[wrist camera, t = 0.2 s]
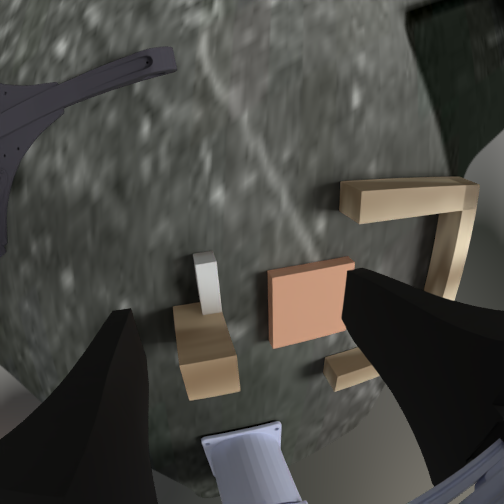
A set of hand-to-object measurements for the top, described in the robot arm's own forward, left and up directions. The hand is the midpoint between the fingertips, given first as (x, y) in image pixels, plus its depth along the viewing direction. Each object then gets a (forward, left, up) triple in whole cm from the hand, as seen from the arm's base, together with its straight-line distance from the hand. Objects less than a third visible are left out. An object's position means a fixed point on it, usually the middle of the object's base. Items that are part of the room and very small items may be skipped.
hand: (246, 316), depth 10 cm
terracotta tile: (-7, -6, -10) cm, 14 cm away
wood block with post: (-7, +1, -10) cm, 12 cm away
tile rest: (-7, -15, -9) cm, 19 cm away
